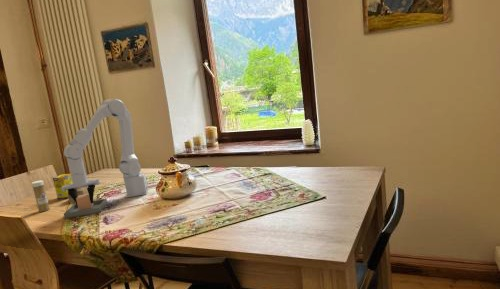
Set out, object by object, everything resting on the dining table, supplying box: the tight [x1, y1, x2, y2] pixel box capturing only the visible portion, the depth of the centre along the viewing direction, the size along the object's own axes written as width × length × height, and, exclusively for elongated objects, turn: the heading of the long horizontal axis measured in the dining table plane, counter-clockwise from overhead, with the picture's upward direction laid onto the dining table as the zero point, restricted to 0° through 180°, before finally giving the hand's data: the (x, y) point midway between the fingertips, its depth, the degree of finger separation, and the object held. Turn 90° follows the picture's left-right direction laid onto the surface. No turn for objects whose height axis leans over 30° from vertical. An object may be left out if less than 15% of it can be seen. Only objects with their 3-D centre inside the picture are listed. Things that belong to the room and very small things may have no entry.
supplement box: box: [52, 173, 73, 200], centre depth 188 cm, size 6×6×11 cm
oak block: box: [67, 186, 89, 204], centre depth 182 cm, size 7×7×5 cm
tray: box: [63, 198, 108, 220], centre depth 162 cm, size 14×12×2 cm
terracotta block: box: [76, 194, 93, 210], centre depth 162 cm, size 5×5×5 cm
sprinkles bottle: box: [31, 180, 51, 213], centre depth 171 cm, size 5×5×14 cm
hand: (85, 204), depth 162 cm, fingers closed on terracotta block, 5 cm apart
